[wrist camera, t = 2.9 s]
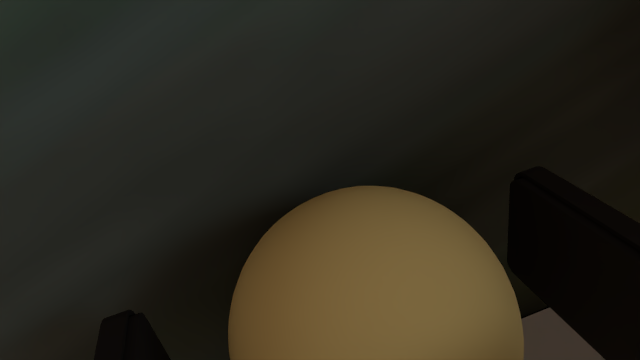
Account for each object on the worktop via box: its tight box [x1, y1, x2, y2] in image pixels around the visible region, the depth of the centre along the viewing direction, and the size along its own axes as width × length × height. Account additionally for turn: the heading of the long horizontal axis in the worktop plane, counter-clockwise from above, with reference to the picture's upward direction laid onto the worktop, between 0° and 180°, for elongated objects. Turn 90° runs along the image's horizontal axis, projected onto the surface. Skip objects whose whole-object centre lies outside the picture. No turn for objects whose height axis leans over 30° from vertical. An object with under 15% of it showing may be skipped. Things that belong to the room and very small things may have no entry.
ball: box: [228, 186, 524, 360], centre depth 9 cm, size 6×6×6 cm
